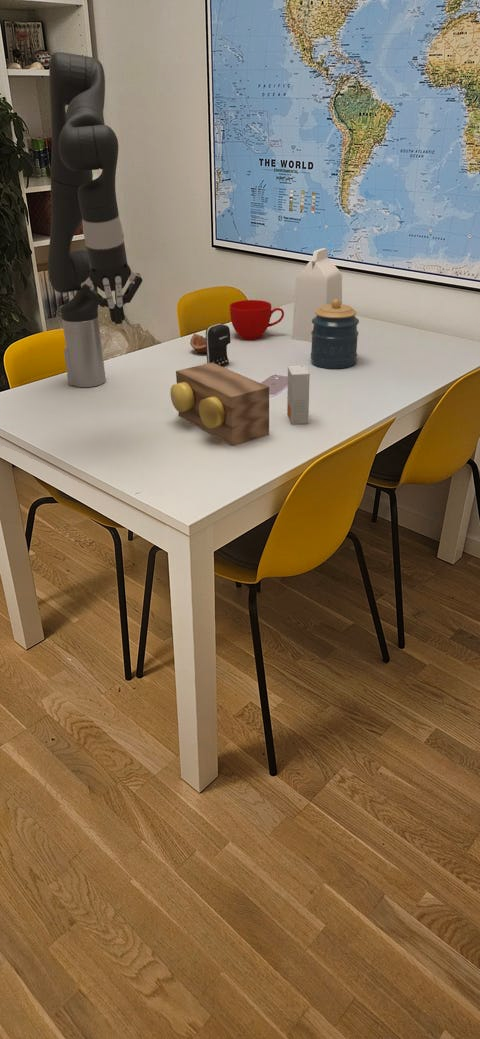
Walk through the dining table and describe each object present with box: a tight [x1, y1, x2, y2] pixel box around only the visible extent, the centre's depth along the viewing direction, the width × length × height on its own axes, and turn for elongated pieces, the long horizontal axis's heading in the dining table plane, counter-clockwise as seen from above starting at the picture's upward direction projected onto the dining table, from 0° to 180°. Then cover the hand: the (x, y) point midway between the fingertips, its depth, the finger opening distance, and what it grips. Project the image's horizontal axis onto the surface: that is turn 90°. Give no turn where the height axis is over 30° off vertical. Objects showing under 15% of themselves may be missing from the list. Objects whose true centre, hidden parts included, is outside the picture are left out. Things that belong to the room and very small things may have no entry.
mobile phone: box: [260, 374, 288, 398], centre depth 186 cm, size 8×1×15 cm
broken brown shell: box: [189, 333, 207, 354], centre depth 212 cm, size 8×7×5 cm
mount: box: [175, 362, 270, 447], centre depth 161 cm, size 13×22×11 cm, turn 36°
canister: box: [310, 299, 360, 370], centre depth 198 cm, size 13×13×18 cm
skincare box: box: [286, 365, 311, 425], centre depth 163 cm, size 6×4×12 cm
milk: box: [291, 247, 343, 343], centre depth 219 cm, size 12×12×26 cm
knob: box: [169, 382, 194, 413], centre depth 165 cm, size 15×6×6 cm, turn 126°
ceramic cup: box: [229, 299, 285, 341], centre depth 224 cm, size 13×17×10 cm
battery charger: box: [205, 323, 231, 367], centre depth 198 cm, size 7×4×11 cm, turn 138°
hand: (118, 322), depth 151 cm, fingers closed
